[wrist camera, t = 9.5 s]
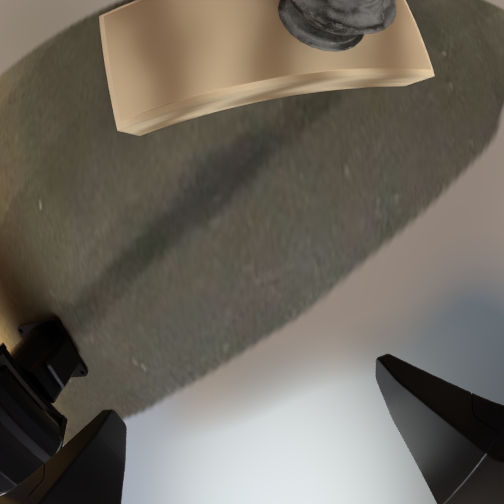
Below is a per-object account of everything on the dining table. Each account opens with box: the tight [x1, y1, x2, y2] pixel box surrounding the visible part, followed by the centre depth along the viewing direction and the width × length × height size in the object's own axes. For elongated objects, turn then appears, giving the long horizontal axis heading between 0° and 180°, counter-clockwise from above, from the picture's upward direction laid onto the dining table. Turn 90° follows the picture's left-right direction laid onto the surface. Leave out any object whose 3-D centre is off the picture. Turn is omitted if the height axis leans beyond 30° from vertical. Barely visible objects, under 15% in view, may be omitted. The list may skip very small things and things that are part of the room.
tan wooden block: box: [99, 0, 435, 136], centre depth 14 cm, size 20×8×4 cm, turn 104°
